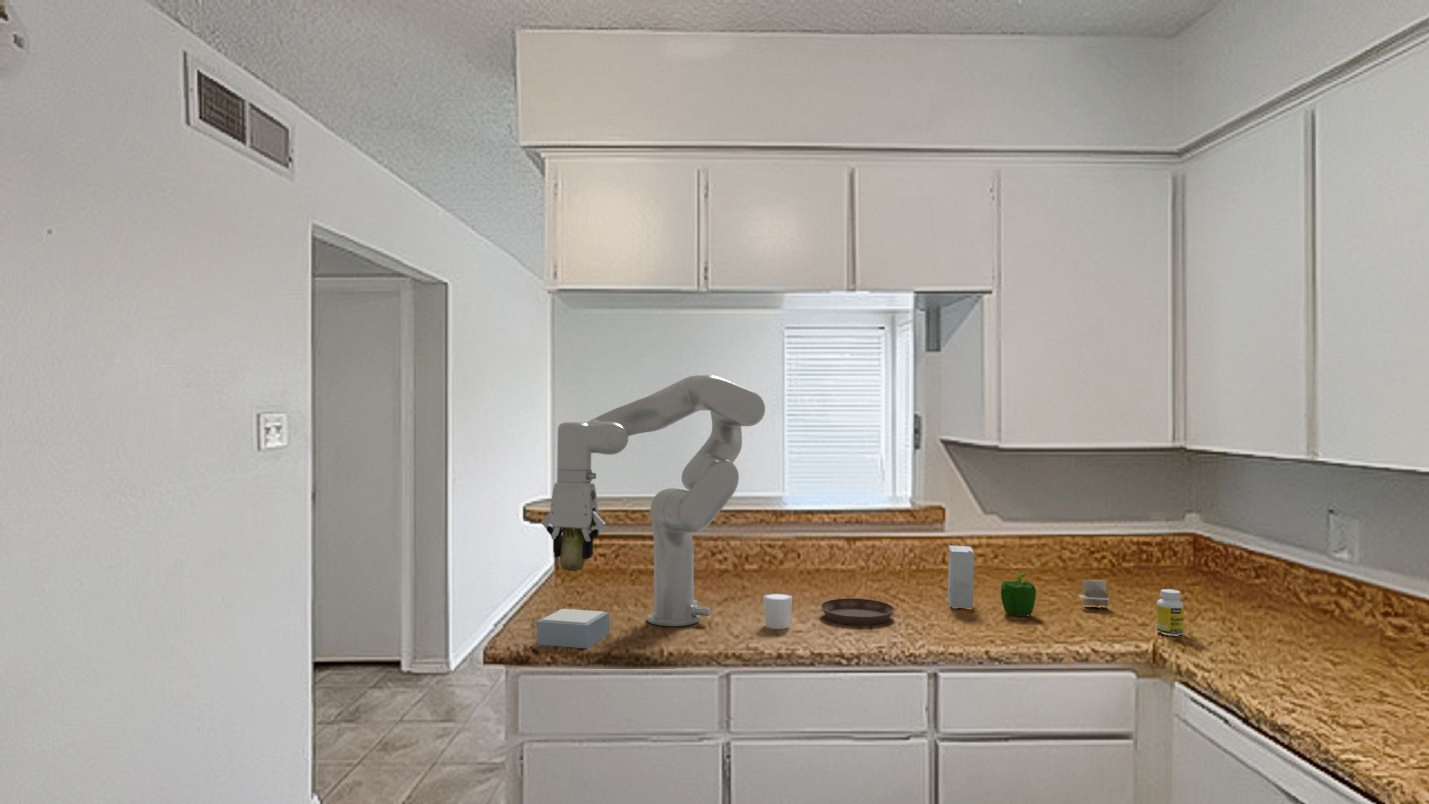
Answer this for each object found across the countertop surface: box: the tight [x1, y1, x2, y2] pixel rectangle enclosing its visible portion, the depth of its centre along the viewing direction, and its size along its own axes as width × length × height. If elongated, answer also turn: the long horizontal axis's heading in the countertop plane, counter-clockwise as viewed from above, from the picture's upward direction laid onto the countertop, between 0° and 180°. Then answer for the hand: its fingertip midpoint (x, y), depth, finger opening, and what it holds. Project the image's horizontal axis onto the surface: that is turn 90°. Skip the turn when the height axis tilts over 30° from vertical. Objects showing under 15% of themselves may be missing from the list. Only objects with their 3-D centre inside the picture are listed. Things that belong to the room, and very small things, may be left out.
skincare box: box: [947, 545, 975, 609], centre depth 235 cm, size 8×6×15 cm
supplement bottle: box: [1156, 588, 1185, 635], centre depth 207 cm, size 5×5×10 cm
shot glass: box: [762, 593, 793, 630], centre depth 214 cm, size 7×7×7 cm
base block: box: [536, 608, 610, 649], centre depth 202 cm, size 12×12×5 cm
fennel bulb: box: [559, 528, 586, 572], centre depth 205 cm, size 6×5×12 cm
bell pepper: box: [1000, 572, 1037, 617], centre depth 225 cm, size 8×8×10 cm
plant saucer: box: [820, 597, 895, 626], centre depth 222 cm, size 18×18×3 cm
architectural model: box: [1077, 579, 1110, 607], centre depth 231 cm, size 3×7×7 cm, turn 80°
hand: (572, 556), depth 205 cm, fingers closed on fennel bulb, 6 cm apart
